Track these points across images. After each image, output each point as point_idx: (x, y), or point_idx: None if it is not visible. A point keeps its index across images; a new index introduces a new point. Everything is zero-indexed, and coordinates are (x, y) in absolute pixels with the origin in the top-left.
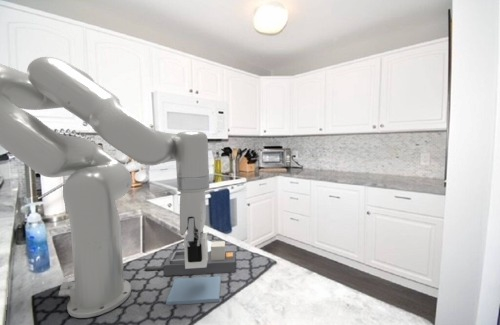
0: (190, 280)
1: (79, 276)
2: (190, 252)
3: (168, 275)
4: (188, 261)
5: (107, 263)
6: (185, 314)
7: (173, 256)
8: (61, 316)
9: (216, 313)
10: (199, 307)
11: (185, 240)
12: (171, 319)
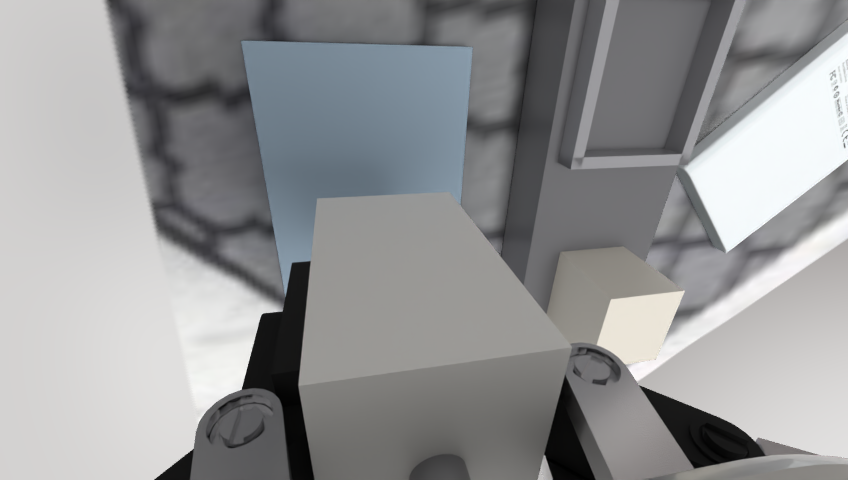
0: (439, 146)
1: None
2: (250, 360)
3: None
4: (291, 265)
5: None
6: (186, 168)
7: None
8: None
9: (213, 294)
10: (244, 222)
11: (301, 403)
12: (135, 103)
